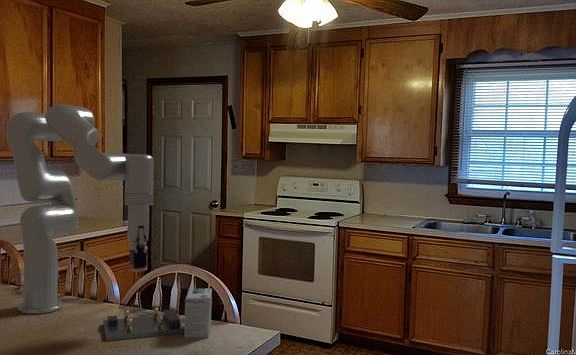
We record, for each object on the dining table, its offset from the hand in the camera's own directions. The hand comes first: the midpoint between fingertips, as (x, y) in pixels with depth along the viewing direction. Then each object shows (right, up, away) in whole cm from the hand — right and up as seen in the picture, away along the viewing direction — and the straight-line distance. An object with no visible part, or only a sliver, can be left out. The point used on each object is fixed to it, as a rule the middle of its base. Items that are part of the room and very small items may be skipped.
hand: (138, 264), depth 146 cm
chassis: (+1, -18, +1) cm, 18 cm away
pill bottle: (0, -2, 0) cm, 2 cm away
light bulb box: (+16, -19, 0) cm, 25 cm away
